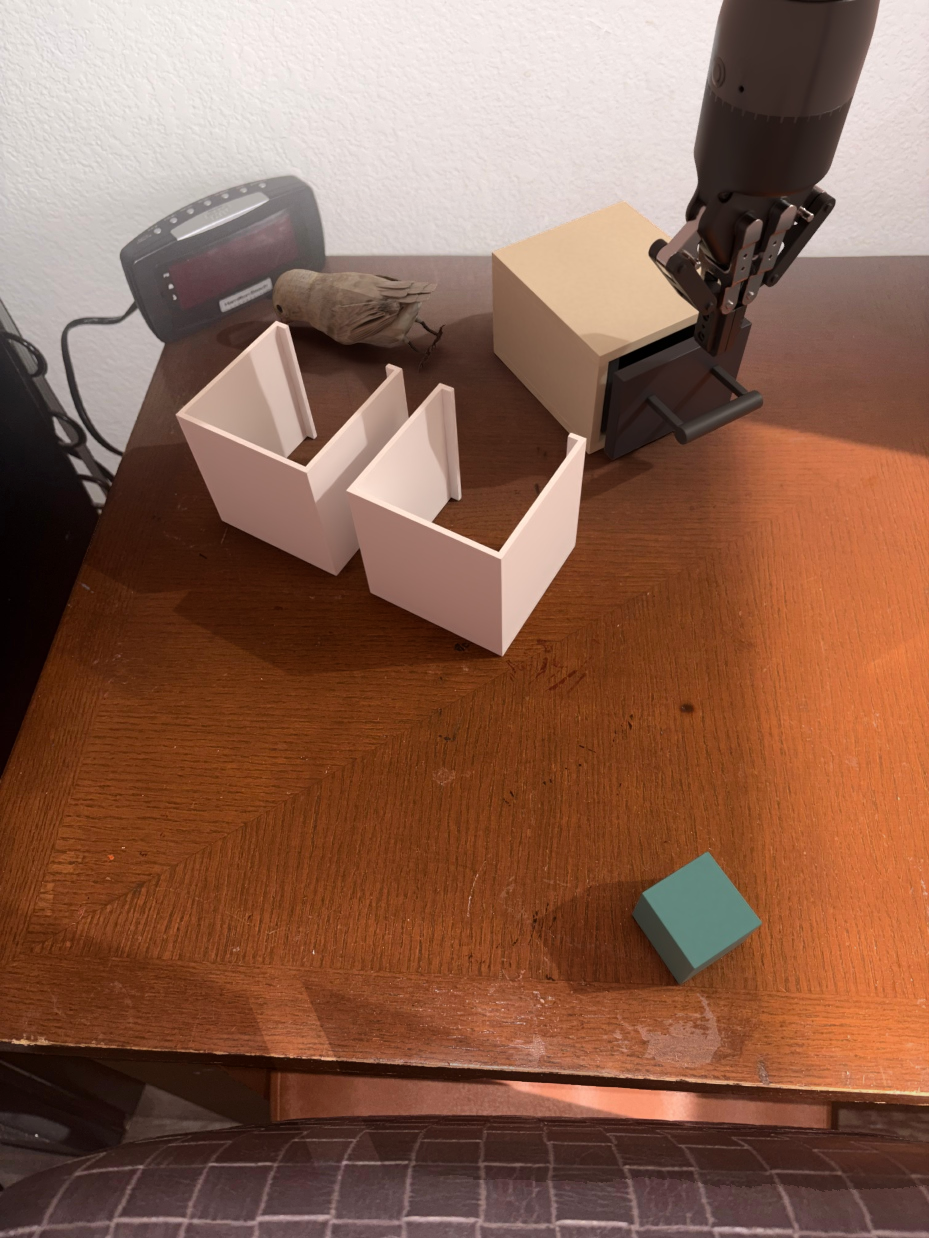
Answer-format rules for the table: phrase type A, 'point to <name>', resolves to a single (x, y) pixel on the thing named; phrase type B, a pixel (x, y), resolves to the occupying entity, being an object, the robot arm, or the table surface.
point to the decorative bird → (353, 306)
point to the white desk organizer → (374, 493)
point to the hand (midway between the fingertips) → (713, 346)
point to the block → (694, 917)
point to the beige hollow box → (581, 310)
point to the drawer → (673, 392)
